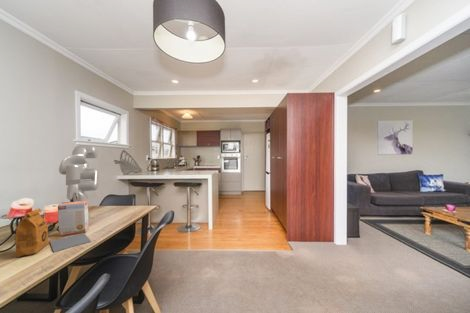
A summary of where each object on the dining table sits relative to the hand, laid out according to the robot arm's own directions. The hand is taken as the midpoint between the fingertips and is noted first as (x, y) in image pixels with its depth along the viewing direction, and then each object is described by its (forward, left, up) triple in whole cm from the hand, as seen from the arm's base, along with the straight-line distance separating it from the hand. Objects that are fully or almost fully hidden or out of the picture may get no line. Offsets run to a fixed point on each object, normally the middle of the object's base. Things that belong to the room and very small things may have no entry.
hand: (73, 208), depth 124 cm
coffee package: (+18, -19, -16) cm, 30 cm away
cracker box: (+5, 0, -15) cm, 16 cm away
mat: (+20, -4, -15) cm, 25 cm away
